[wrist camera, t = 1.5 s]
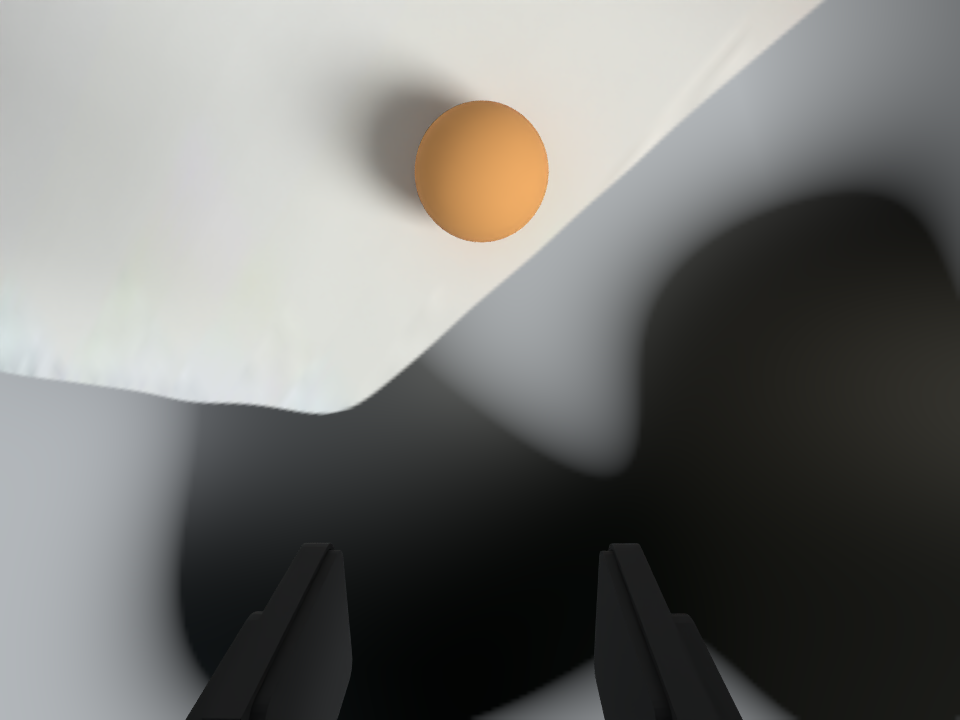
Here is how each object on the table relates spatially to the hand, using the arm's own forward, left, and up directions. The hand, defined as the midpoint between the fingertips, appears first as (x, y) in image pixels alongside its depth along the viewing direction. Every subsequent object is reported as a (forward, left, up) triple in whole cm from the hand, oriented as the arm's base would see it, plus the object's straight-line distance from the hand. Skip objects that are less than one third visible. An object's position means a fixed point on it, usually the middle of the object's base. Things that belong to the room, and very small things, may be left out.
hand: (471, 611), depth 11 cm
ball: (0, -10, -16) cm, 19 cm away
